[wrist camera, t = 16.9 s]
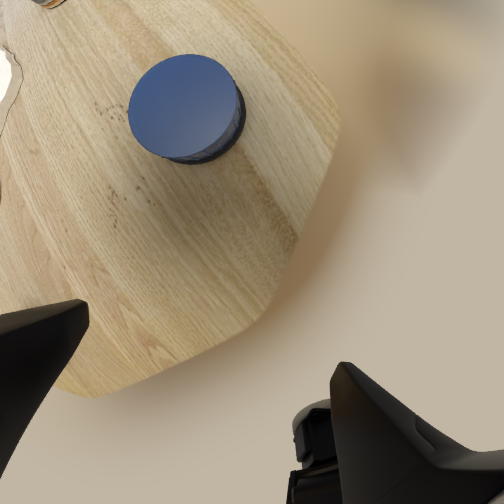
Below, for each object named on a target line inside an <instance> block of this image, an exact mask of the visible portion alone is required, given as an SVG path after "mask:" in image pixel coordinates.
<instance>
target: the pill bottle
mask: <svg viewBox="0 0 504 504" xmlns="http://www.w3.org/2000/svg"><path fill="white" fill-rule="evenodd" d="M32 1H34V2H35V3H37V4H39V5H41V6H42V7H44V8H52V7H54V6H56V5H58V4H60V3H61V2H63V1H64V0H32Z"/></svg>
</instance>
